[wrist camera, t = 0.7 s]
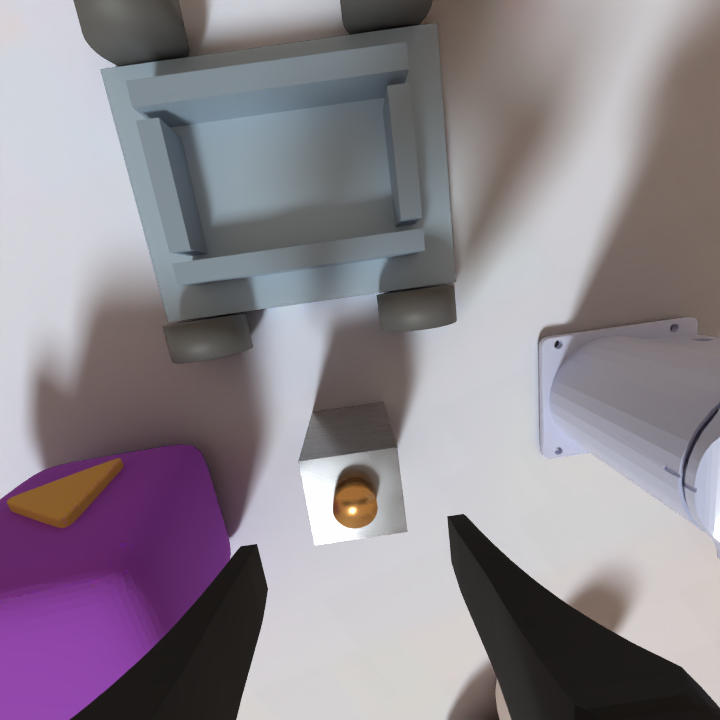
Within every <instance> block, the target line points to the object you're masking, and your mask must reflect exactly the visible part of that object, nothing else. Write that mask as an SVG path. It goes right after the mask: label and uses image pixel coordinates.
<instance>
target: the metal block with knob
mask: <svg viewBox="0 0 720 720" xmlns="http://www.w3.org/2000/svg"><path fill="white" fill-rule="evenodd" d="M298 462H299V467H300V472H301V477H302V482H303V487H304V492H305V497H306V502H307V507H308V512H309V517H310V522H311V527H312V532H313V537H314V542H315V545H320V544H326V543H333V542H340V541H347V540H354V539H361V538H368V537H375V536H382V535H389V534H396V533H403V532H407V524H406V516H405V508H404V500H403V491H402V483H401V475H400V467H399V459H398V451H397V445H396V442H395V439H394V435H393V432H392V429H391V426H390V422H389V419H388V416H387V412H386V409H385V406H384V402H379V403H372V404H365V405H358V406H351V407H344V408H337V409H330V410H323V411H316V412H312V415H311V419H310V422H309V426H308V429H307V433H306V437H305V440H304V444H303V447H302V451H301V454H300V458H299V461H298Z"/></svg>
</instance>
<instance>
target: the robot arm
mask: <svg viewBox="0 0 720 720" xmlns="http://www.w3.org/2000/svg"><path fill="white" fill-rule="evenodd" d="M671 326H672V329H671V330H670V327H671ZM556 341H558V342H559V344H558V346H557V347H554V344H555V342H556ZM539 397H540V451H541V454H542V455H543V456H544V457H546V458H548V459H551V458H558V457H565V456H572V455H579V454H586V453H591V454H592V455H594V456H595V457H596V458H598V459H599V460H601V461H602V462H604V463H605V464H607V465H608V466H609V467H611V468H612V469H614V470H615V471H617V472H618V473H620V474H621V475H622V476H624V477H625V478H627V479H628V480H630V481H631V482H633V483H634V484H635V485H637V486H638V487H640V488H641V489H643V490H644V491H646V492H647V493H648V494H650V495H651V496H653V497H654V498H656V499H657V500H659V501H660V502H661V503H663V504H664V505H666V506H667V507H669V508H670V509H672V510H673V511H674V512H676V513H677V514H679V515H680V516H682V517H683V518H685V519H686V520H687V521H689V522H690V523H692V524H693V525H695V526H696V527H698V528H699V529H701V530H702V531H704V532H705V533H706V534H707V535H708V536H709V537H711V538H712V540H713V541H714V543H715V545H716V548H717V557H718V558H719V559H720V337H713V336H706V335H699V334H698V320H697V319H696V318H694V317H682V318H675V319H668V320H660V321H653V322H646V323H639V324H632V325H625V326H618V327H611V328H604V329H597V330H590V331H583V332H576V333H569V334H562V335H555V336H548V337H544V338H543V339H541V341H540V342H539ZM558 447H559V449H558V450H557V451H555V449H556V448H558ZM447 517H448V528H449V539H450V550H451V561H452V565H453V568H454V572H455V575H456V578H457V581H458V584H459V587H460V591H461V593H462V596H463V598H464V600H465V603H466V605H467V607H468V610H469V612H470V615H471V617H472V619H473V622H474V624H475V626H476V629H477V631H478V633H479V636H480V638H481V640H482V643H483V645H484V647H485V650H486V652H487V654H488V657H489V659H490V661H491V664H492V666H493V669H494V671H495V674H496V677H497V679H498V682H499V685H500V688H501V691H502V694H503V697H504V699H505V702H506V705H507V708H508V711H509V714H510V717H511V720H720V708H719V707H718V705H717V704H716V703H715V702H714V701H713V700H712V699H711V697H710V696H709V695H708V694H707V693H706V692H705V691H704V690H703V689H702V687H701V686H700V685H699V684H698V683H697V682H696V681H695V680H694V679H693V678H692V677H691V676H690V675H689V674H688V673H687V672H686V671H685V670H684V669H683V668H682V667H680V666H678V665H676V664H674V663H672V662H670V661H668V660H666V659H664V658H662V657H660V656H658V655H656V654H654V653H652V652H650V651H648V650H646V649H644V648H642V647H640V646H637V645H636V644H634V643H632V642H630V641H628V640H626V639H625V638H623V637H621V636H619V635H617V634H616V633H614V632H612V631H610V630H608V629H607V628H605V627H603V626H602V625H600V624H598V623H596V622H595V621H593V620H592V619H590V618H588V617H587V616H585V615H584V614H582V613H581V612H579V611H577V610H576V609H574V608H573V607H571V606H569V605H568V604H566V603H565V602H564V601H562V600H561V599H559V598H558V597H556V596H555V595H554V594H552V593H551V592H550V591H548V590H547V589H546V588H544V587H543V586H542V585H540V584H539V583H538V582H536V581H535V580H534V579H533V578H531V577H530V576H529V575H528V574H526V573H525V572H524V571H523V570H522V569H521V568H519V567H518V566H517V565H516V564H515V563H514V562H512V561H511V560H510V559H509V558H508V557H507V556H506V555H505V554H504V553H502V552H501V551H500V550H499V549H498V548H497V547H496V546H495V545H494V544H493V543H492V542H491V541H490V540H489V539H488V538H487V537H486V536H485V535H484V534H483V533H482V532H481V531H480V530H479V529H478V528H477V527H476V526H475V525H474V524H473V523H472V522H471V521H470V520H469V519H468V517H467V516H465V515H464V514H461V515H454V516H447ZM267 591H268V587H267V583H266V579H265V575H264V571H263V567H262V563H261V559H260V555H259V551H258V547H257V544H254V545H248V546H241V547H240V548H239V549H238V550H237V552H236V553H235V554H234V555H233V557H232V558H231V559H230V560H229V562H228V563H227V564H226V565H225V567H224V568H223V569H222V570H221V572H220V573H219V574H218V575H217V577H216V578H215V579H214V580H213V581H212V583H211V584H210V585H209V586H208V587H207V589H206V590H205V591H204V592H203V594H202V595H201V596H200V597H199V598H198V599H197V601H196V602H195V603H194V604H193V605H192V606H191V607H190V608H189V610H188V611H187V612H186V613H185V614H184V615H183V616H182V617H181V619H180V620H179V621H178V622H177V623H176V624H175V625H174V626H173V627H172V628H171V629H170V631H169V632H168V633H167V634H166V635H165V636H164V637H163V638H162V639H161V640H160V641H159V642H158V643H157V644H156V645H155V646H154V647H153V648H152V649H151V650H150V651H149V652H148V653H147V654H146V655H144V656H143V657H142V658H141V659H140V660H139V661H138V662H137V663H136V664H135V665H134V666H132V667H131V668H130V669H129V670H128V671H127V672H126V673H125V674H124V675H122V676H121V677H120V678H119V679H118V680H117V681H116V682H115V683H113V684H112V685H111V686H110V687H109V688H108V689H107V690H105V691H104V692H103V693H102V694H101V695H99V696H98V697H97V698H96V699H95V700H93V701H92V702H91V703H90V704H89V705H87V706H86V707H85V708H84V709H82V710H81V711H80V712H79V713H77V714H76V715H75V716H74V717H72V718H71V719H70V720H236V718H237V714H238V710H239V706H240V702H241V698H242V694H243V691H244V687H245V683H246V680H247V676H248V673H249V669H250V665H251V662H252V658H253V655H254V651H255V647H256V644H257V640H258V636H259V633H260V629H261V625H262V621H263V616H264V610H265V604H266V598H267Z"/></svg>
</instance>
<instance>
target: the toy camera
mask: <svg viewBox="0 0 720 720" xmlns="http://www.w3.org/2000/svg"><path fill="white" fill-rule="evenodd" d="M230 554H231V552H230V542H229V538H228V534H227V530H226V527H225V523H224V520H223V517H222V513H221V510H220V506H219V503H218V500H217V496H216V493H215V490H214V486H213V483H212V480H211V476H210V473H209V470H208V467H207V464H206V462H205V459H204V457H203V456H202V454H201V452H200V451H199V450H198V449H197V448H196V447H194V446H191V445H171V446H163V447H157V448H151V449H146V450H140V451H134V452H128V453H122V454H116V455H111V456H105V457H99V458H94V459H88V460H82V461H77V462H71V463H67V464H62V465H58V466H54V467H51V468H48V469H46V470H43V471H41V472H39V473H37V474H35V475H34V476H32V477H31V478H29V479H28V480H26V481H25V482H23V483H22V484H20V485H19V486H18V487H16V488H15V489H14V490H12V491H11V492H10V493H8V494H7V495H6V496H4V497H3V498H2V499H0V720H70V719H71V718H72V717H74V716H75V715H76V714H77V713H79V712H80V711H81V710H82V709H84V708H85V707H86V706H87V705H89V704H90V703H91V702H92V701H93V700H95V699H96V698H97V697H98V696H99V695H101V694H102V693H103V692H104V691H105V690H107V689H108V688H109V687H110V686H111V685H112V684H113V683H115V682H116V681H117V680H118V679H119V678H120V677H121V676H122V675H124V674H125V673H126V672H127V671H128V670H129V669H130V668H131V667H132V666H134V665H135V664H136V663H137V662H138V661H139V660H140V659H141V658H142V657H143V656H144V655H146V654H147V653H148V652H149V651H150V650H151V649H152V648H153V647H154V646H155V645H156V644H157V643H158V642H159V641H160V640H161V639H162V638H163V637H164V636H165V635H166V634H167V633H168V632H169V631H170V629H171V628H172V627H173V626H174V625H175V624H176V623H177V622H178V621H179V620H180V619H181V617H182V616H183V615H184V614H185V613H186V612H187V611H188V610H189V608H190V607H191V606H192V605H193V604H194V603H195V602H196V601H197V599H198V598H199V597H200V596H201V595H202V594H203V592H204V591H205V590H206V589H207V587H208V586H209V585H210V584H211V583H212V581H213V580H214V579H215V578H216V577H217V575H218V574H219V573H220V572H221V570H222V569H223V568H224V567H225V565H226V564H227V563H228V562H229V560H230Z"/></svg>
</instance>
